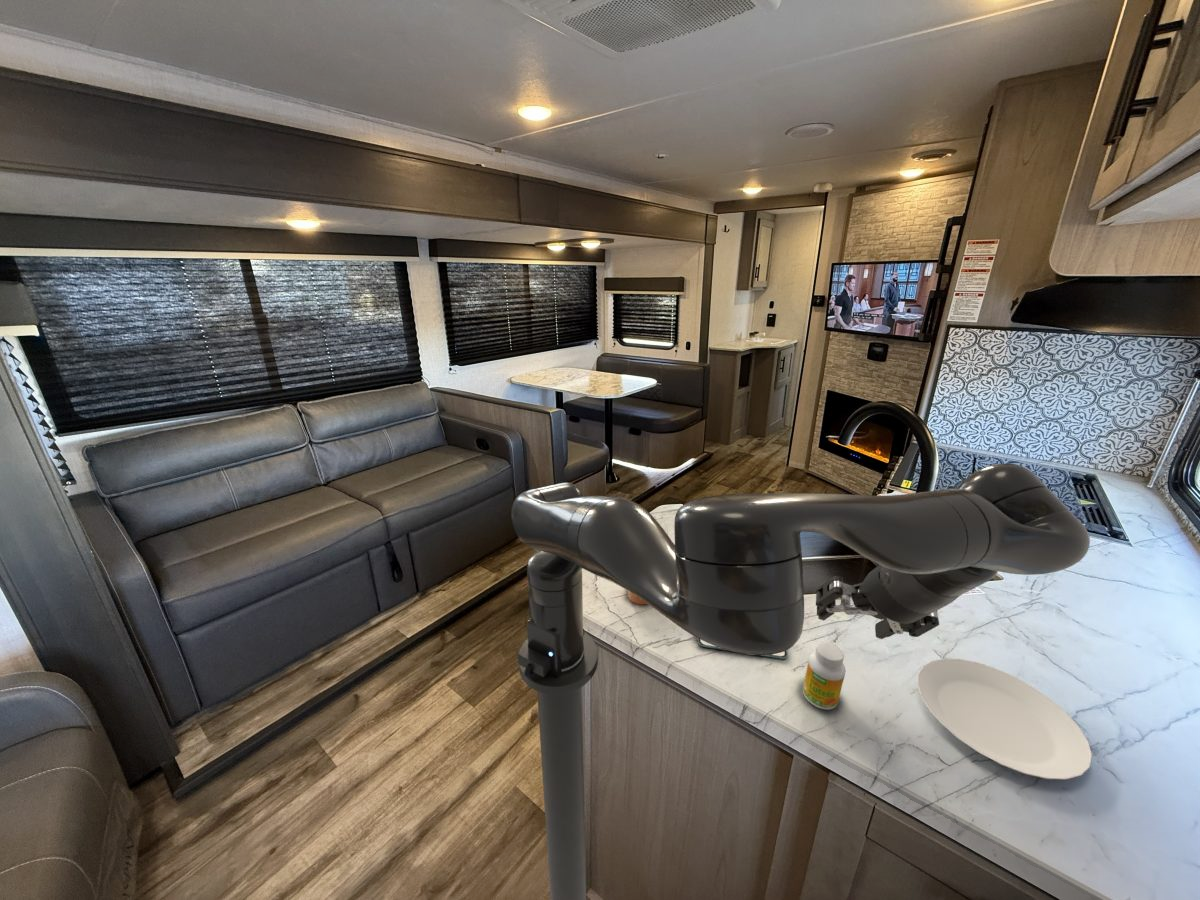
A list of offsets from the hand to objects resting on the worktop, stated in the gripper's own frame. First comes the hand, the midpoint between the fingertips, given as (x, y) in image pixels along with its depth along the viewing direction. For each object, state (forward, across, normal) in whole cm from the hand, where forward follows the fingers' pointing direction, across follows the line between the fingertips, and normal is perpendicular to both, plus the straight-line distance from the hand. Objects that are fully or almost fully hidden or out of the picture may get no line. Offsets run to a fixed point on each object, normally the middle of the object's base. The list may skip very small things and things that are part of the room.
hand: (848, 622), depth 70 cm
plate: (+10, -27, +4) cm, 29 cm away
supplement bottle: (+14, -2, +8) cm, 16 cm away
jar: (+29, +30, -5) cm, 42 cm away
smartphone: (+22, +10, 0) cm, 24 cm away
